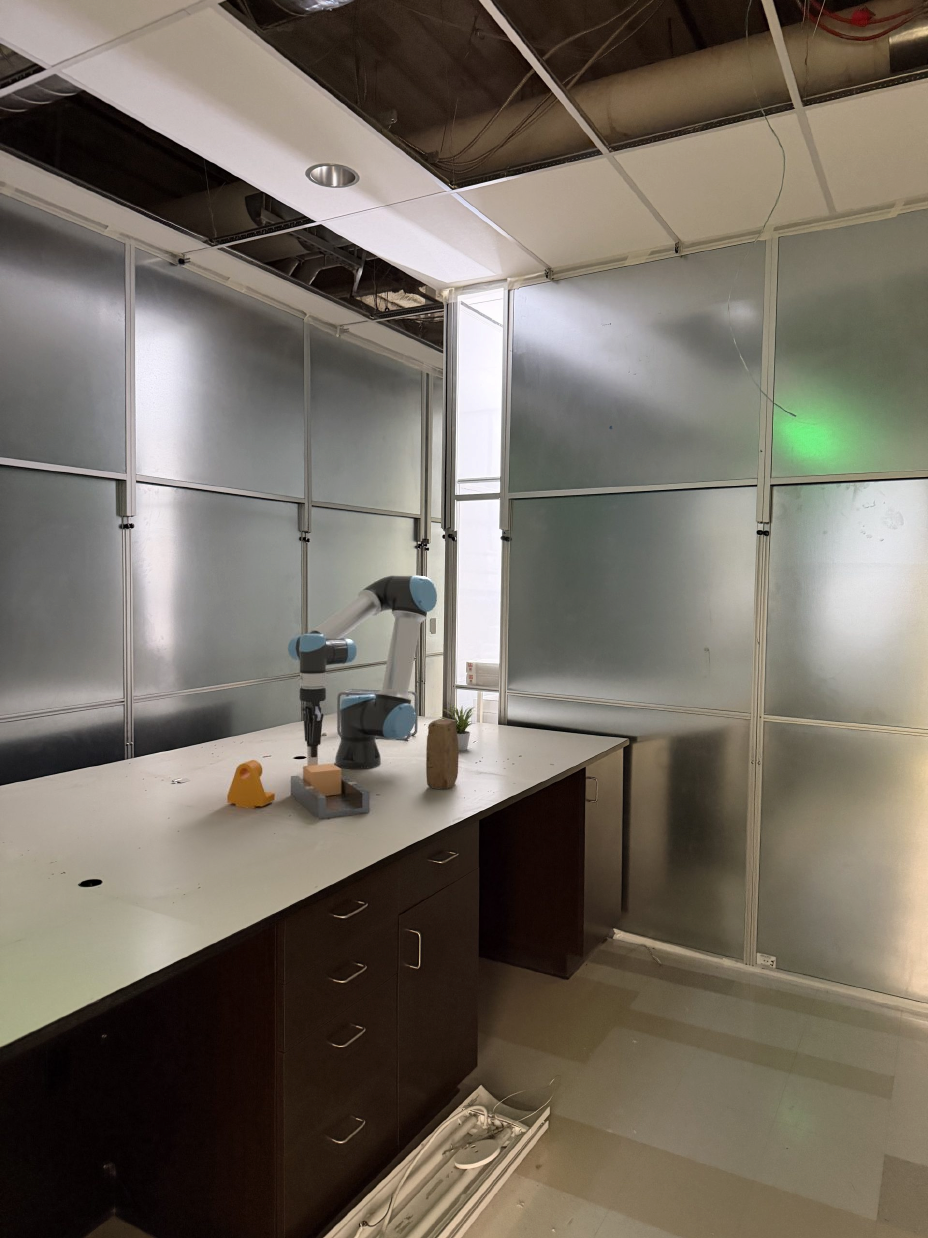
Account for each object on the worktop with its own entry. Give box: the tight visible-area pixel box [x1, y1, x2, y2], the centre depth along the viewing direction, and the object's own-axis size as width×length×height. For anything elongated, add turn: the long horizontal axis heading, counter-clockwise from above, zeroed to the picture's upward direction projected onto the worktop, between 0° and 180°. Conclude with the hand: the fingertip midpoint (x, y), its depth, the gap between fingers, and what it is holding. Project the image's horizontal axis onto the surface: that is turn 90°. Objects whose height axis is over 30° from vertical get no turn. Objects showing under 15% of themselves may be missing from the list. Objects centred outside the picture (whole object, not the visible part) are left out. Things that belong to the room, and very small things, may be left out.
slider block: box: [302, 763, 342, 796], centre depth 231 cm, size 8×9×7 cm
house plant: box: [439, 705, 477, 752], centre depth 301 cm, size 14×14×16 cm
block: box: [425, 718, 459, 790], centre depth 246 cm, size 11×8×20 cm
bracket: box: [226, 759, 276, 809], centre depth 225 cm, size 11×7×12 cm, turn 73°
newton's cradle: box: [336, 688, 419, 741], centre depth 323 cm, size 30×10×18 cm, turn 77°
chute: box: [290, 773, 371, 820], centre depth 226 cm, size 26×14×6 cm, turn 28°
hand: (312, 767), depth 239 cm, fingers closed
